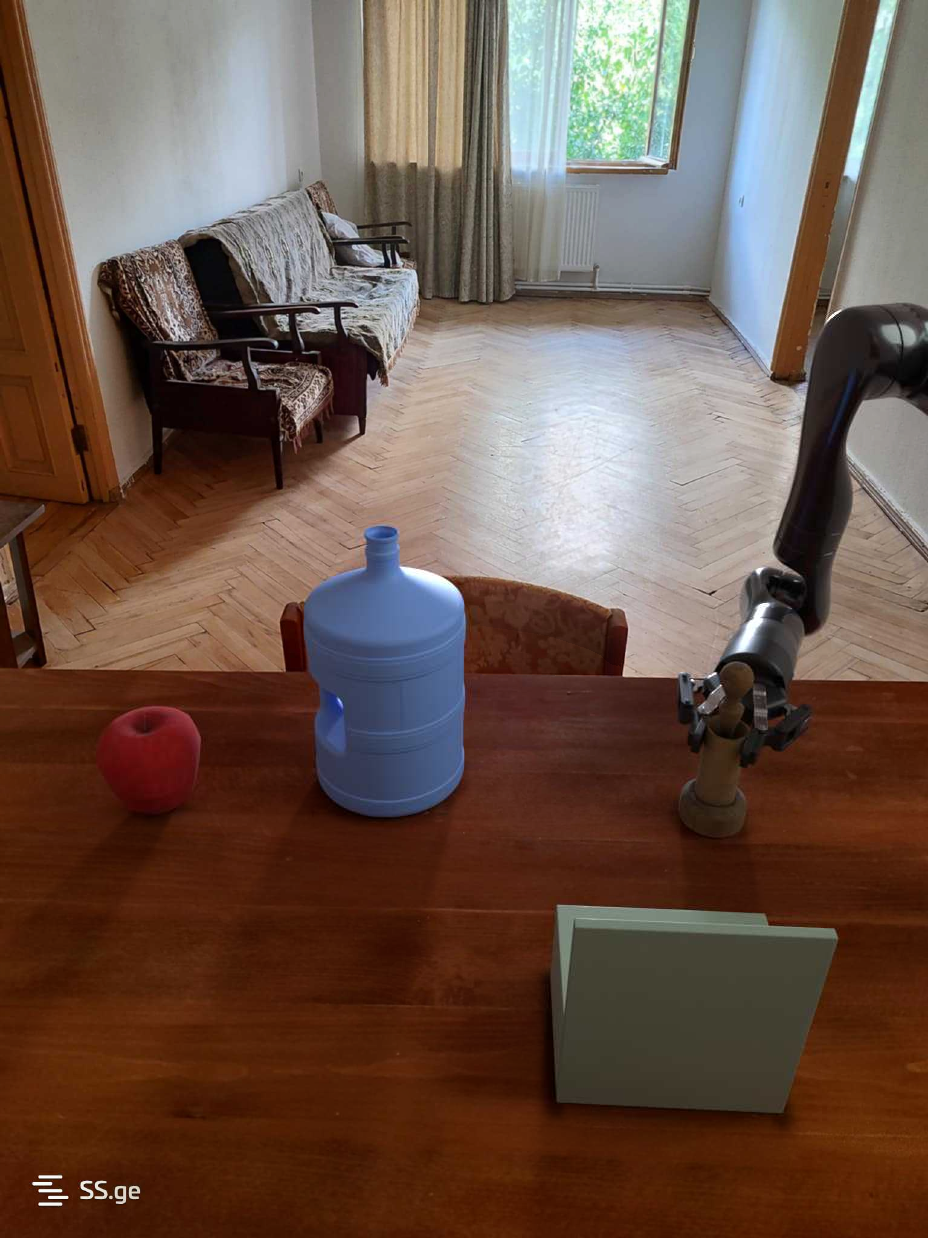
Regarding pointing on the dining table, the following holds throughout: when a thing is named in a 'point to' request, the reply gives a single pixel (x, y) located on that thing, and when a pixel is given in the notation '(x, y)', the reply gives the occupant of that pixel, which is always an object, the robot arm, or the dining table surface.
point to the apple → (150, 758)
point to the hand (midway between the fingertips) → (719, 752)
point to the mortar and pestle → (720, 764)
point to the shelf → (682, 1006)
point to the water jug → (387, 683)
